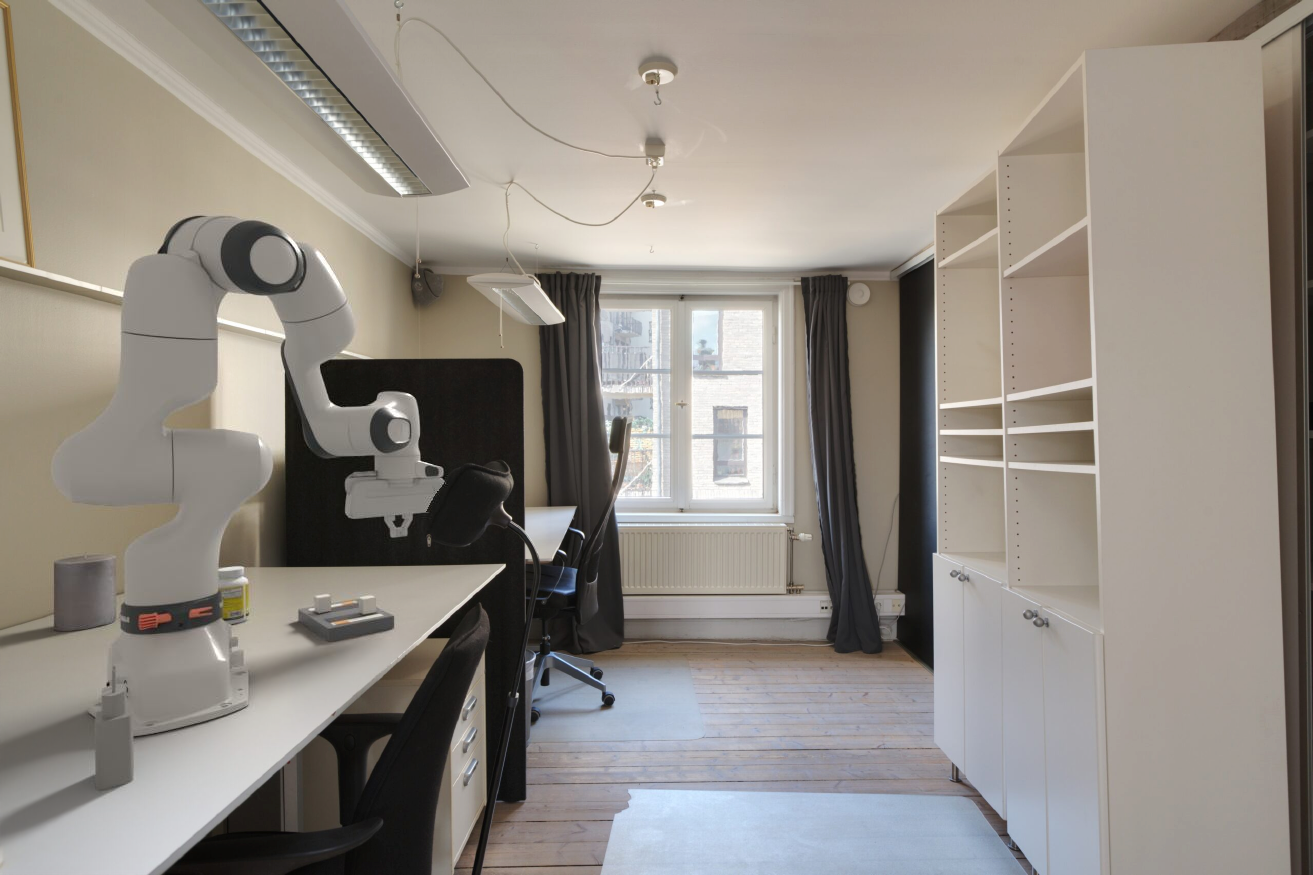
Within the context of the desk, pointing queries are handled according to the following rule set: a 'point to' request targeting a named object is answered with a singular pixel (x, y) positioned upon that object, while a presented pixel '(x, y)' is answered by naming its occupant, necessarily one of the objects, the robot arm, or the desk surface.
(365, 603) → the front slider
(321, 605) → the rear slider
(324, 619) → the switch housing
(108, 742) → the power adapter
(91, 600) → the pillar candle
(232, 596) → the pill bottle
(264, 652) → the desk surface
